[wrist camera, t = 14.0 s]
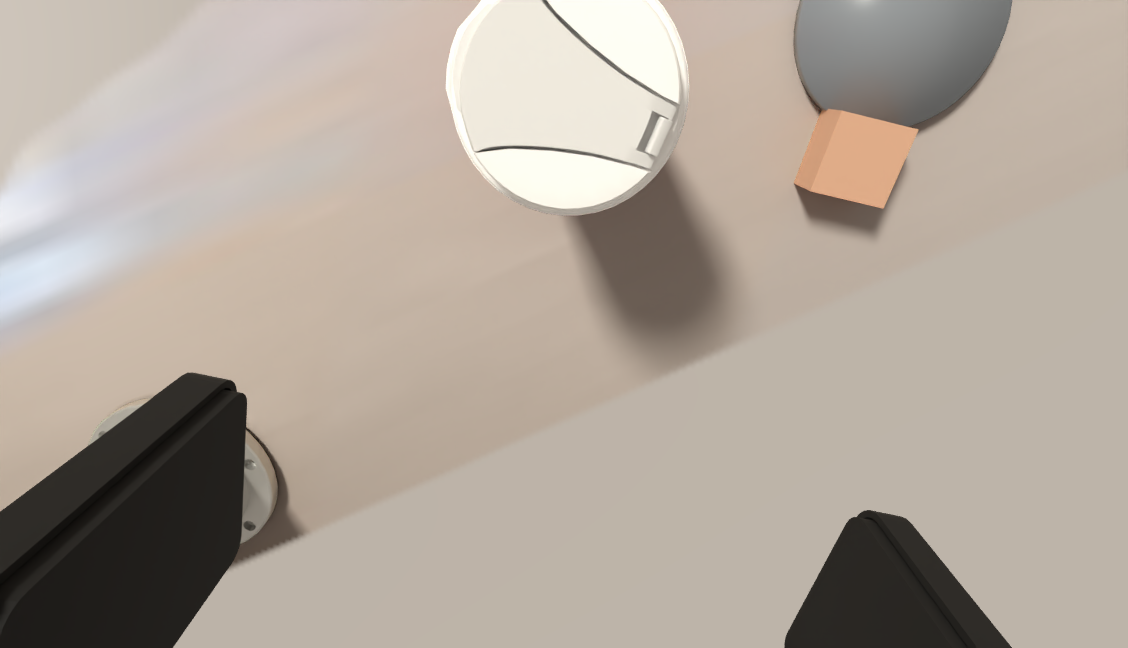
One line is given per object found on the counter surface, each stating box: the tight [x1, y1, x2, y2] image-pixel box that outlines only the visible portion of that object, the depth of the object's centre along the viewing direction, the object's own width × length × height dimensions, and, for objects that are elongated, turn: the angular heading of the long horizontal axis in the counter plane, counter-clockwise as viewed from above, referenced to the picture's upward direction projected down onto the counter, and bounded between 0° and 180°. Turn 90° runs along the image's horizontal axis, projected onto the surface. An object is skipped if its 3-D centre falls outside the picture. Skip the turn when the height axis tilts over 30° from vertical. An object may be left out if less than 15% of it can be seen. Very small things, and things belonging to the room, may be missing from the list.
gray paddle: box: [794, 0, 1012, 208], centre depth 28 cm, size 14×10×2 cm
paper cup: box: [446, 0, 689, 216], centre depth 24 cm, size 8×8×14 cm
